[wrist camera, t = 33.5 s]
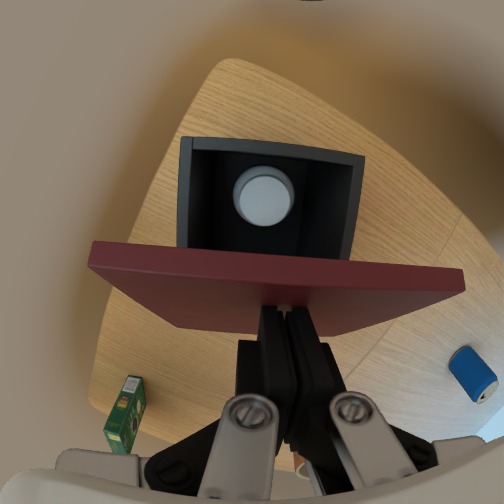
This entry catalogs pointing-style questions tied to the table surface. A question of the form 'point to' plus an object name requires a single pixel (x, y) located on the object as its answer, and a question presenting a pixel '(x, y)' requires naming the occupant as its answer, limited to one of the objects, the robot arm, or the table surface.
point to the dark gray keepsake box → (299, 218)
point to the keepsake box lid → (267, 286)
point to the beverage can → (473, 374)
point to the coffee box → (126, 416)
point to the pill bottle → (263, 195)
